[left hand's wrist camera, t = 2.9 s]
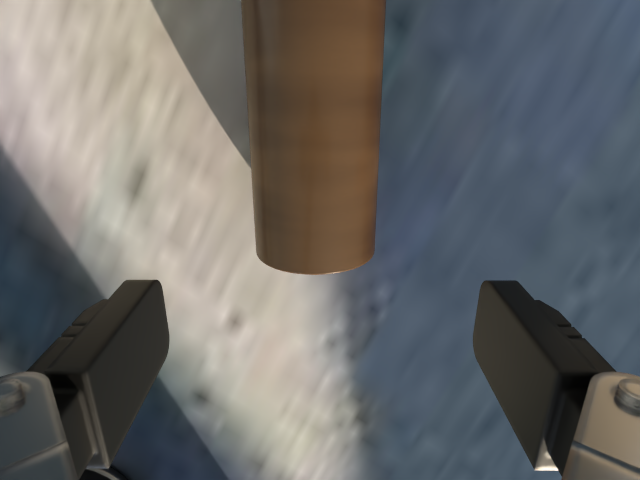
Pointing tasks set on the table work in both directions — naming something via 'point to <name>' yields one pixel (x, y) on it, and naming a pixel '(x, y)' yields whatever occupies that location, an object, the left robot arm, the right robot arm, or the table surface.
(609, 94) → the table surface
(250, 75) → the rod
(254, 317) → the table surface
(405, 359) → the table surface
